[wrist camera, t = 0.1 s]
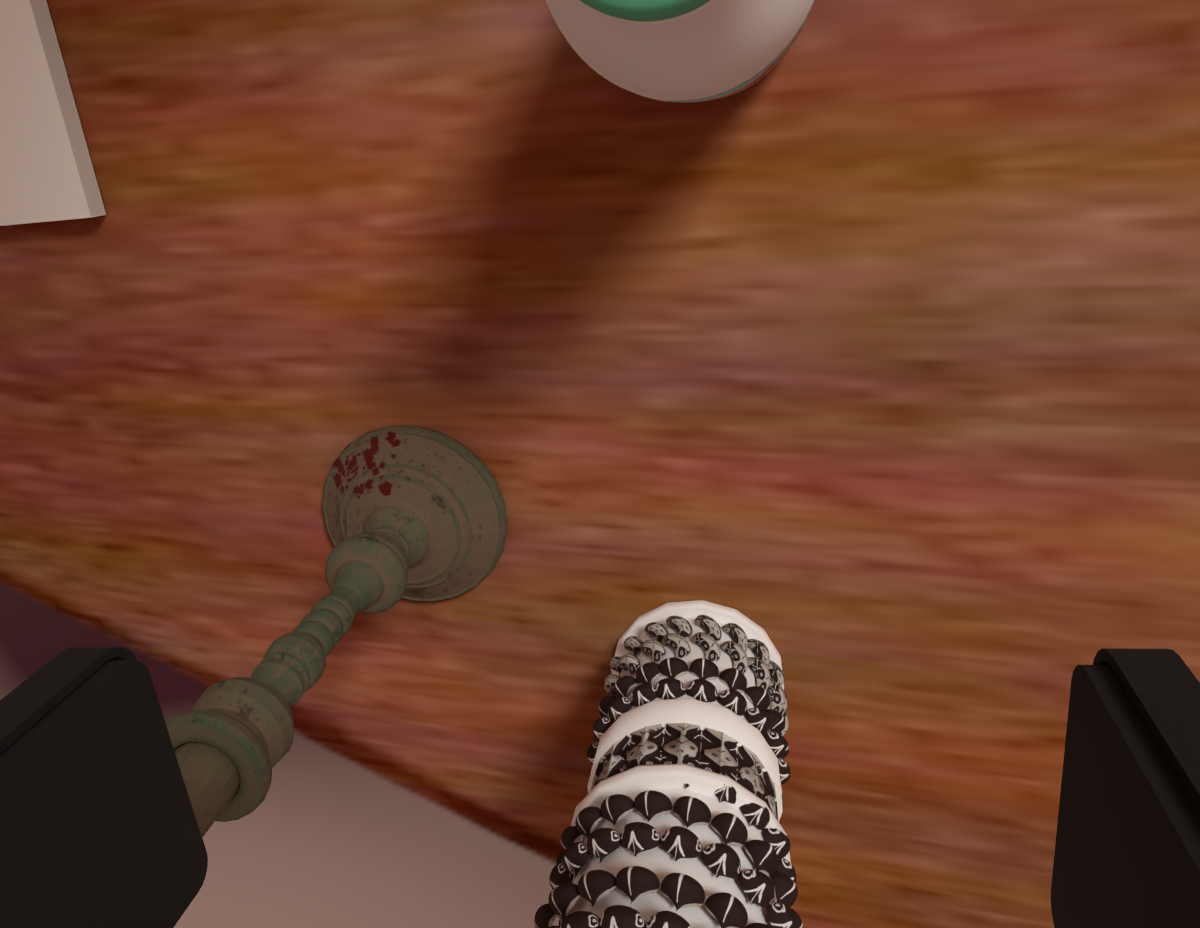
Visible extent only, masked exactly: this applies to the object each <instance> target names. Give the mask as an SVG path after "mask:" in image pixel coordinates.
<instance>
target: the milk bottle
mask: <svg viewBox="0 0 1200 928" xmlns="http://www.w3.org/2000/svg"><path fill="white" fill-rule="evenodd" d="M814 2H815V0H546V3H547V5H548V7H549V10H550V12H551V14H552V16H553V18H554V20H555V22H556V24H557V26H558V28H559V29H560V31H561V32H562V34H563V35H564V37H565V38H566V40H567V41H568V43H569V44H570V45H571V47H572V48H573V49H574V51H575V52H576V53H577V54H578V55H579V56H580V57H581V58H582V60H583V61H584V62H585V63H586V64H587V65H588V66H590V67H591V68H592V69H593V70H594V71H596V72H597V73H598V74H599V75H601V76H602V77H604V78H605V79H607V80H608V81H610V82H612V83H613V84H615V85H617V86H619V87H621V88H623V89H625V90H628V91H630V92H633V93H635V94H638V95H640V96H644V97H647V98H651V99H655V100H661V101H668V102H702V101H710V100H716V99H720V98H724V97H728V96H730V95H733V94H736V93H738V92H740V91H742V90H744V89H746V88H748V87H750V86H751V85H753V84H755V83H756V82H758V81H759V80H760V79H762V78H763V77H764V76H765V75H766V74H768V73H769V72H770V71H771V70H772V69H773V68H774V67H775V66H776V65H777V64H778V63H779V62H780V60H781V59H782V58H783V57H784V55H785V54H786V53H787V51H788V50H789V49H790V47H791V46H792V44H793V42H794V41H795V39H796V38H797V36H798V35H799V33H800V31H801V29H802V27H803V25H804V23H805V22H806V20H807V18H808V16H809V13H810V11H811V9H812V6H813V4H814Z"/></svg>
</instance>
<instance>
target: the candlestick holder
mask: <svg viewBox="0 0 1200 928" xmlns="http://www.w3.org/2000/svg"><path fill="white" fill-rule="evenodd" d="M322 509H323V515H324V520H325V525H326V530H327V532H328V534H329V536H330V538H331V541H332V543H333V545H334V549H333V550H332V551H331V552H330V554H329V556H328V559H327V561H326V569H325V574H326V579H327V583H328V585H329V587H330V589H331V593H330V594H329V595H328V596H326V597H324V598H322V599H321V600H320V601H319V602H317V603H316V604H315V605H314V606H313V607H312V609H311V612H310V613H309V614H307V615H306V616H305V618H304V619H303V621H302V622H301V624H300V625H298V626H297V627H296V628H295V629H294V630H293V632H292V633H288V634H285V635H284V636H282V637H280V638H278V639H277V640H275V641H274V642H273V643H272V644H271V645H270V647H269V648H268V650H267V652H266V654H265V656H264V659H263V660H262V661H261V663H260V664H259V665H258V666H257V667H256V668H255V669H254V671H253V673H252V678H246V677H236V678H232V679H228V680H224V681H220V682H217V683H215V684H213V685H212V686H210V687H208V688H207V689H206V690H205V692H204V693H203V694H202V695H201V696H200V698H199V699H198V701H197V702H196V704H195V705H194V707H193V710H192V711H187V712H183V713H180V714H178V715H177V716H175V717H173V718H171V719H170V720H168V721H166V722H165V723H166V726H167V729H168V733H169V736H170V739H171V742H172V745H173V748H174V751H175V754H176V758H177V761H178V764H179V767H180V770H181V773H182V776H183V780H184V783H185V786H186V789H187V792H188V795H189V798H190V801H191V805H192V808H193V811H194V814H195V817H196V820H197V823H198V827H199V830H200V833H201V836H202V837H203V836H204V835H205V833H206V832H207V831H208V829H209V828H210V827H211V825H212V824H213V822H214V821H223V822H225V821H232V820H237V819H240V818H242V817H244V816H246V815H248V814H250V813H251V812H253V811H254V810H255V809H256V808H257V807H258V806H259V805H260V804H261V803H262V801H263V800H264V799H265V797H266V794H267V792H268V790H269V787H270V784H271V776H272V767H274V766H275V764H276V763H278V762H279V761H280V759H282V757H283V756H284V755H285V754H286V753H287V752H288V751H289V750H290V747H291V745H292V742H293V735H294V718H293V714H292V711H291V709H290V707H289V706H292V705H293V704H295V703H297V702H298V701H299V699H300V698H301V696H302V694H303V693H304V692H305V691H306V690H307V689H309V688H311V687H312V686H313V685H314V684H315V683H316V682H317V681H318V680H319V679H320V678H321V676H322V673H323V671H324V668H325V663H326V657H327V656H328V655H329V654H330V652H331V650H332V648H333V647H334V646H335V645H336V644H337V643H338V642H339V641H340V639H341V637H342V635H344V634H346V633H347V631H348V630H349V628H350V626H351V624H352V622H353V620H354V616H355V614H356V612H358V611H359V612H363V613H378V612H382V611H386V610H387V609H389V608H391V607H393V606H394V605H395V604H396V603H397V602H398V601H399V600H400V599H401V598H403V599H407V600H411V601H440V600H444V599H448V598H453V597H457V596H459V595H461V594H463V593H465V592H466V591H468V590H470V589H472V588H474V587H475V586H477V585H478V584H479V583H480V582H481V581H482V580H483V579H484V578H485V577H486V576H487V575H488V574H489V573H490V572H491V571H492V570H493V569H494V567H495V565H496V563H497V561H498V559H499V557H500V555H501V553H502V551H503V549H504V544H505V538H506V532H507V521H506V512H505V503H504V501H503V498H502V496H501V493H500V491H499V488H498V486H497V483H496V481H495V479H494V478H493V477H492V475H491V474H490V473H489V471H488V470H487V468H486V467H485V466H484V464H483V463H482V462H481V460H480V459H478V458H477V457H476V456H475V455H474V454H473V453H471V452H470V451H469V450H468V449H467V448H466V447H464V446H463V445H462V444H461V443H459V442H457V441H455V440H453V439H451V438H449V437H447V436H445V435H443V434H441V433H439V432H436V431H432V430H428V429H424V428H419V427H415V426H392V427H386V428H382V429H379V430H376V431H372V432H369V433H366V434H364V435H363V436H361V437H360V438H358V439H357V440H355V441H354V442H352V443H351V444H349V445H347V447H346V448H345V449H344V450H343V452H342V453H341V454H340V455H339V457H338V458H337V459H336V460H335V461H334V463H333V464H332V467H331V469H330V472H329V474H328V477H327V479H326V482H325V484H324V492H323V504H322Z"/></svg>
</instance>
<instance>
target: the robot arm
mask: <svg viewBox="0 0 1200 928" xmlns="http://www.w3.org/2000/svg"><path fill="white" fill-rule="evenodd" d="M207 860H208V859H207V852H206V849H205V846H204V842H203V839H202V836H201V833H200V830H199V827H198V823H197V820H196V817H195V814H194V811H193V808H192V805H191V801H190V798H189V795H188V792H187V789H186V786H185V783H184V780H183V776H182V773H181V770H180V767H179V764H178V761H177V758H176V754H175V751H174V748H173V745H172V742H171V739H170V736H169V733H168V729H167V726H166V723H165V720H164V717H163V714H162V711H161V707H160V704H159V702H158V699H157V695H156V692H155V689H154V685H153V682H152V680H151V676H150V674H149V671H148V669H147V667H146V666H145V665H144V664H143V663H142V662H139V661H137V659H136V657H135V656H134V654H133V653H131V651H129V650H128V649H125V648H122V647H73V648H68V649H66V650H64V651H63V652H61V653H59V654H58V655H57V656H56V657H54V658H53V659H52V660H51V661H49V662H48V663H47V664H46V665H44V666H43V667H42V668H41V669H39V670H38V671H37V672H35V673H34V674H33V675H32V676H30V677H29V678H28V679H27V680H26V681H24V682H23V683H22V684H20V685H19V686H18V687H17V688H15V689H14V690H13V691H12V692H11V693H9V694H8V695H7V696H5V697H4V698H3V699H2V700H0V928H173V927H174V926H175V924H176V923H177V922H178V920H179V919H180V917H181V916H182V914H183V913H184V911H185V910H186V909H187V907H188V906H189V904H190V903H191V902H192V900H193V899H194V897H195V896H196V895H197V893H198V891H199V890H200V888H201V886H202V884H203V881H204V878H205V876H206V871H207ZM1051 908H1052V916H1053V922H1054V926H1055V928H1200V683H1199V681H1198V680H1197V679H1196V677H1195V676H1194V675H1193V673H1192V672H1191V671H1190V669H1189V668H1188V667H1187V665H1186V664H1185V663H1184V661H1183V660H1182V659H1181V657H1180V656H1179V655H1178V654H1177V653H1176V652H1175V651H1174V650H1170V649H1101V650H1099V651H1098V652H1097V654H1096V656H1095V658H1094V662H1093V665H1078V666H1076V667H1075V669H1074V671H1073V675H1072V681H1071V691H1070V701H1069V712H1068V722H1067V732H1066V743H1065V753H1064V763H1063V773H1062V784H1061V794H1060V804H1059V815H1058V825H1057V835H1056V845H1055V856H1054V866H1053V876H1052V887H1051Z"/></svg>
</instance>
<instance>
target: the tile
mask: <svg viewBox="0 0 1200 928" xmlns="http://www.w3.org/2000/svg"><path fill="white" fill-rule="evenodd" d="M103 215H106V212H105V209H104V205H103V202H102V198H101V194H100V191H99V187H98V184H97V180H96V177H95V173H94V169H93V166H92V162H91V159H90V155H89V151H88V148H87V144H86V141H85V137H84V134H83V130H82V126H81V123H80V119H79V116H78V112H77V109H76V105H75V101H74V98H73V94H72V91H71V87H70V83H69V80H68V76H67V73H66V69H65V66H64V62H63V58H62V55H61V51H60V48H59V44H58V41H57V37H56V33H55V30H54V26H53V23H52V19H51V15H50V12H49V8H48V5H47V1H46V0H0V226H5V225H16V224H27V223H38V222H49V221H59V220H70V219H81V218H92V217H97V216H103Z"/></svg>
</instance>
